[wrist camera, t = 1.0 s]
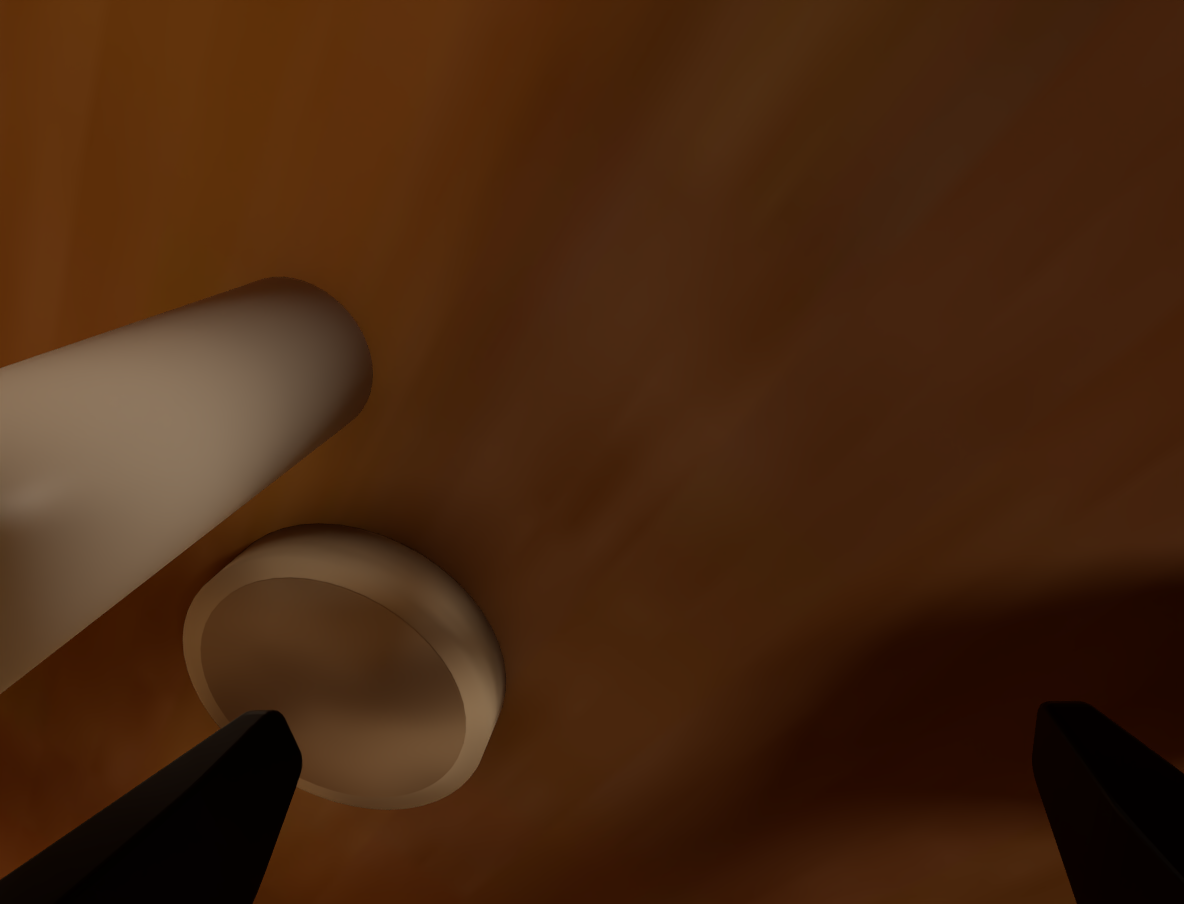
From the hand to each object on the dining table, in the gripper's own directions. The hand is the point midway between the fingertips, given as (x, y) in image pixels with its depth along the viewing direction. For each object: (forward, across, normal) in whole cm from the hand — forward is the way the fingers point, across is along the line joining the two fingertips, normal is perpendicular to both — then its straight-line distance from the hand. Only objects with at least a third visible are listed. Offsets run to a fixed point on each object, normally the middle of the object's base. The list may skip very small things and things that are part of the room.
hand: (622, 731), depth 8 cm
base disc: (+14, +14, +11) cm, 22 cm away
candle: (+14, +12, -1) cm, 19 cm away
